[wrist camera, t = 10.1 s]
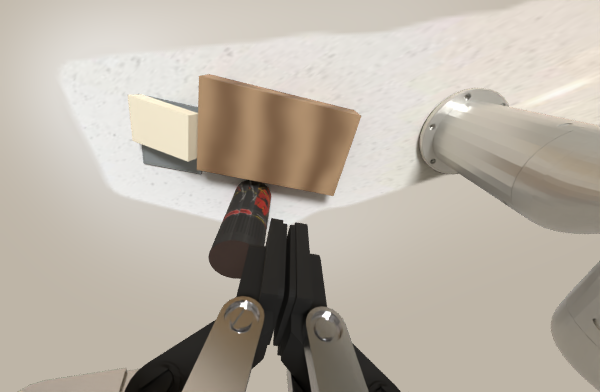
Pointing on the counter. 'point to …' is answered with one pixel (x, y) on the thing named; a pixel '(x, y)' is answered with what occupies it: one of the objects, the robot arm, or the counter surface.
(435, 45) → the counter surface
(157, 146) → the cream foam block
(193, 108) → the mat
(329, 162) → the wood grain slab
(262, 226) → the deodorant
